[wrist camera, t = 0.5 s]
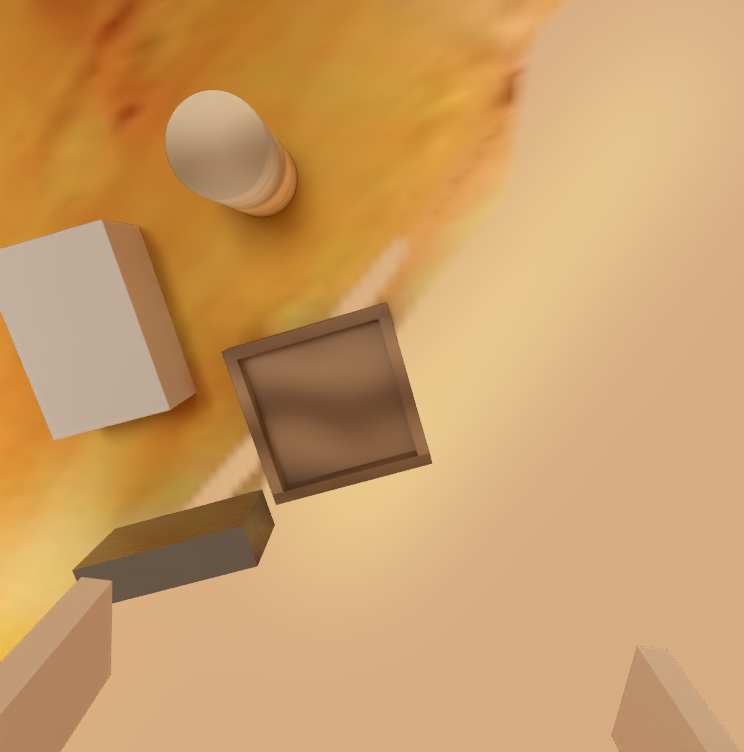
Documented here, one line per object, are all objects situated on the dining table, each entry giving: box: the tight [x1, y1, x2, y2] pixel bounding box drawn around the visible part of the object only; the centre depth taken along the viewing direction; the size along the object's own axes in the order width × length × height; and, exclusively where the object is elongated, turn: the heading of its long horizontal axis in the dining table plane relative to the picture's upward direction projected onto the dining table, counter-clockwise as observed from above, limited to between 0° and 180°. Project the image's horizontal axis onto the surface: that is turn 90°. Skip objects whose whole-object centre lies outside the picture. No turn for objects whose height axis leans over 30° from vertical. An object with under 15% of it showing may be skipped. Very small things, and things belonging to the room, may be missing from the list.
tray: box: [222, 302, 432, 505], centre depth 36 cm, size 12×12×2 cm
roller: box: [165, 90, 297, 217], centre depth 30 cm, size 5×5×9 cm
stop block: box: [72, 490, 275, 603], centre depth 37 cm, size 3×12×6 cm, turn 106°
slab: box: [0, 219, 197, 440], centre depth 34 cm, size 12×8×5 cm, turn 15°
